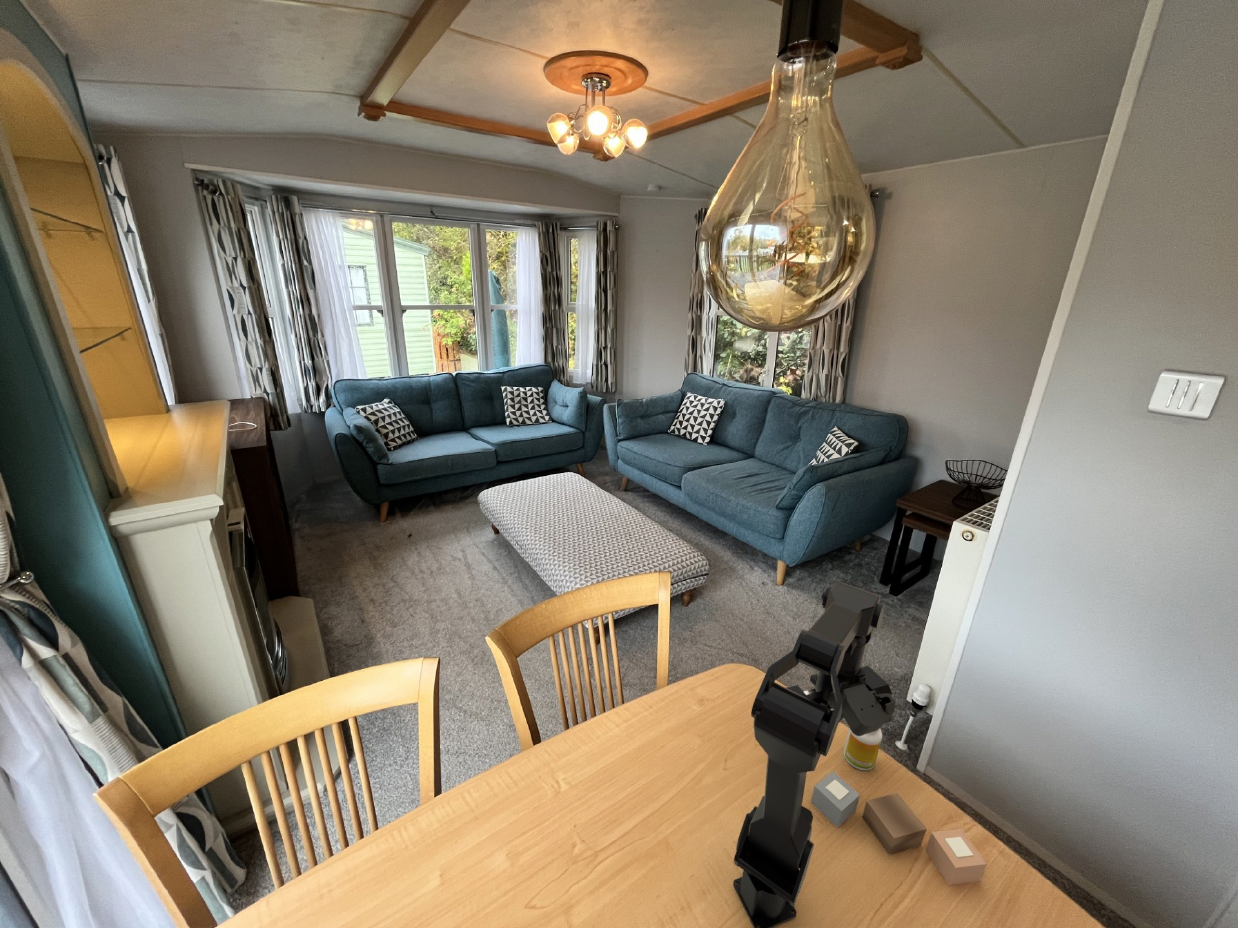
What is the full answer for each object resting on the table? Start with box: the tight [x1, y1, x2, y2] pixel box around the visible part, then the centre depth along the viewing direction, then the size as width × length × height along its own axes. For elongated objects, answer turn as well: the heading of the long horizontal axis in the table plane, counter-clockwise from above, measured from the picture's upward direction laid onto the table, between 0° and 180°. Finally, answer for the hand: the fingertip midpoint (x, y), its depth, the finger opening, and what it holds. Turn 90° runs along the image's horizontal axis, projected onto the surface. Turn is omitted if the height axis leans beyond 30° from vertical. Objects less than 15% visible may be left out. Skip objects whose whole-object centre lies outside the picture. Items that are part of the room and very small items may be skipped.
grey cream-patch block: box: [810, 771, 861, 828], centre depth 84 cm, size 5×5×4 cm
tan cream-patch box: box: [925, 828, 988, 886], centre depth 76 cm, size 5×5×4 cm
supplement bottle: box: [843, 727, 883, 771], centre depth 92 cm, size 5×5×10 cm
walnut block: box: [861, 792, 927, 856], centre depth 81 cm, size 6×6×4 cm
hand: (824, 734), depth 84 cm, fingers closed
